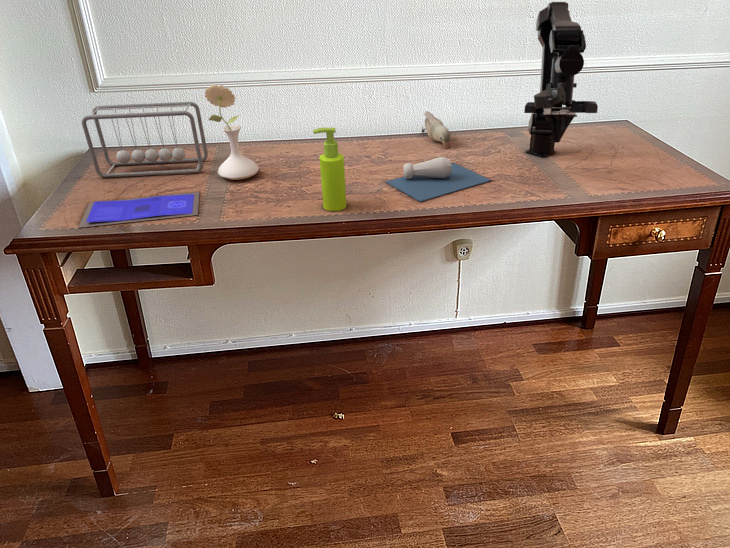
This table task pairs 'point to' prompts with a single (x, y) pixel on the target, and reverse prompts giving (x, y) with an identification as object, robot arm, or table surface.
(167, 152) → the newton's cradle
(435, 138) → the decorative bird
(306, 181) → the table surface
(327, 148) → the soap dispenser
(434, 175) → the salt shaker
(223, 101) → the flower in vase
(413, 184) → the slate mat
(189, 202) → the booklet
